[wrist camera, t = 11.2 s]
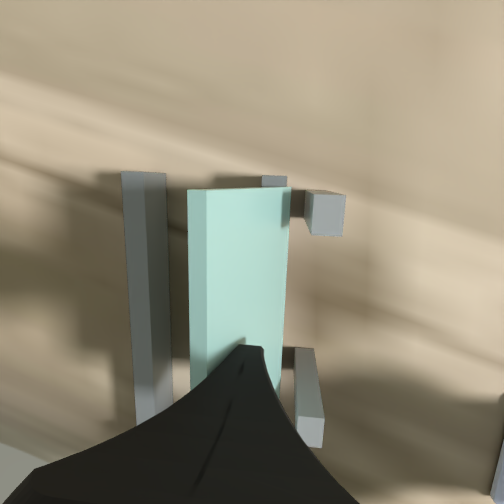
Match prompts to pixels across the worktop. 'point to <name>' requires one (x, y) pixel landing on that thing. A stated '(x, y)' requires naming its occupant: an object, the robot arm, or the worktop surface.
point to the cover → (237, 275)
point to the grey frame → (158, 297)
